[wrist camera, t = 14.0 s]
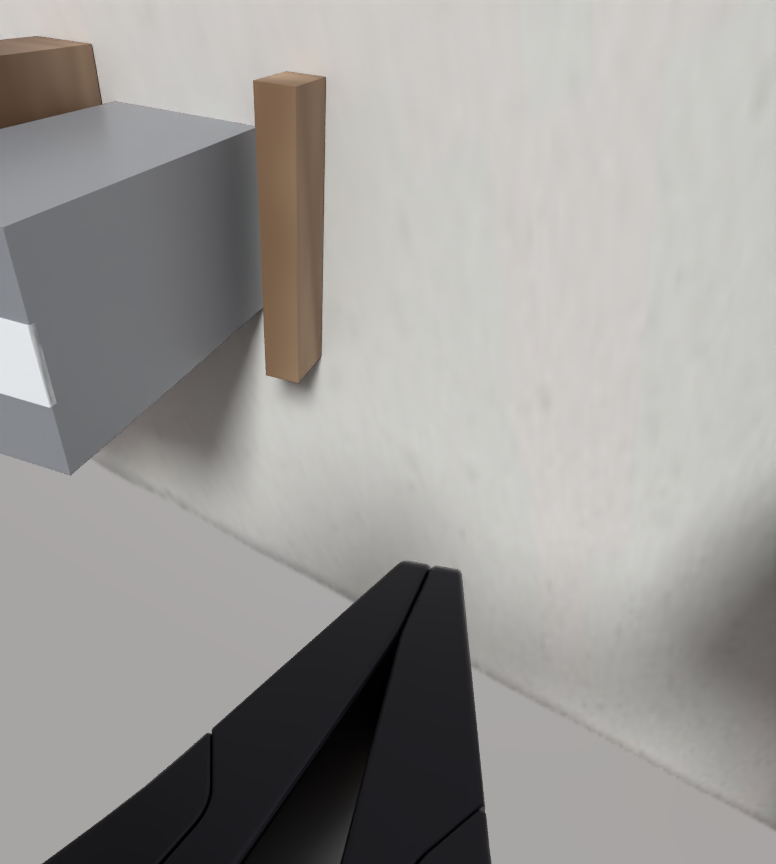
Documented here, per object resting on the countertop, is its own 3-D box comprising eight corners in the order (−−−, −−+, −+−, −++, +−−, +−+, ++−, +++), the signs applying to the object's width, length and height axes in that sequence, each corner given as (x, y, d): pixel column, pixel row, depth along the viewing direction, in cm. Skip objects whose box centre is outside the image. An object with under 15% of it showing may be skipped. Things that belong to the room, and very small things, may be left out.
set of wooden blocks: (325, 77, 18) (84, 155, 10) (321, 356, 23) (160, 544, 16) (36, 35, 20) (-347, 75, 12) (93, 301, 26) (-149, 445, 18)
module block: (258, 126, 20) (1, 228, 12) (263, 307, 23) (69, 476, 15) (115, 101, 21) (-210, 179, 13) (141, 278, 24) (-99, 423, 16)
